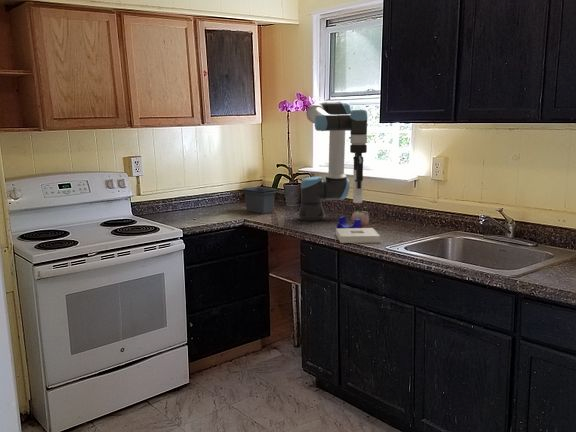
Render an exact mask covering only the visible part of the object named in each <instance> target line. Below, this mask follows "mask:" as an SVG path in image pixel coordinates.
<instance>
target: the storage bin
mask: <svg viewBox="0 0 576 432" xmlns="http://www.w3.org/2000/svg"><path fill="white" fill-rule="evenodd" d="M242 193H244V197H245V198H244V199H245V209H246V212H252V213H256V214H260V215H261V214H262V215H265V214H271V213H272V214H273V213H274V209H275V208H274V207H275V205H274V204H275V194H276V193H277V188H272V187H265V186H250V187H249V186H247V187H242Z"/></svg>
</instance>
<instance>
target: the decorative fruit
mask: <svg viewBox="0 0 576 432" xmlns="http://www.w3.org/2000/svg"><path fill="white" fill-rule="evenodd" d="M351 214H352V215H351V217H350V220H351V223H352V225H353V224H354V221H355V220H357V219H361V228H366V226H367V225H368V224H369V222H370V216H369V212H368V211H365V210H362V209H359V210H355V211H352V213H351Z"/></svg>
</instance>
